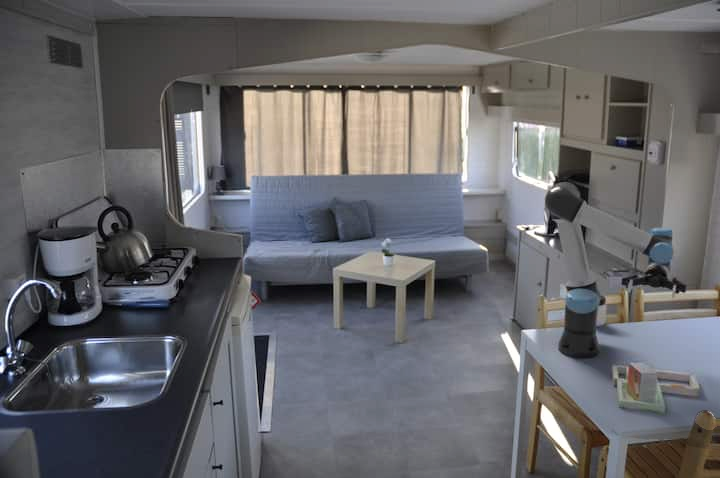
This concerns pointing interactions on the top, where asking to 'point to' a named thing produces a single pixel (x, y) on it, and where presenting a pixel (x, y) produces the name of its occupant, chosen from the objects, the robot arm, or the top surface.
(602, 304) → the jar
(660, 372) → the beige divided frame
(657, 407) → the tray
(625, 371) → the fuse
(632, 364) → the small box
